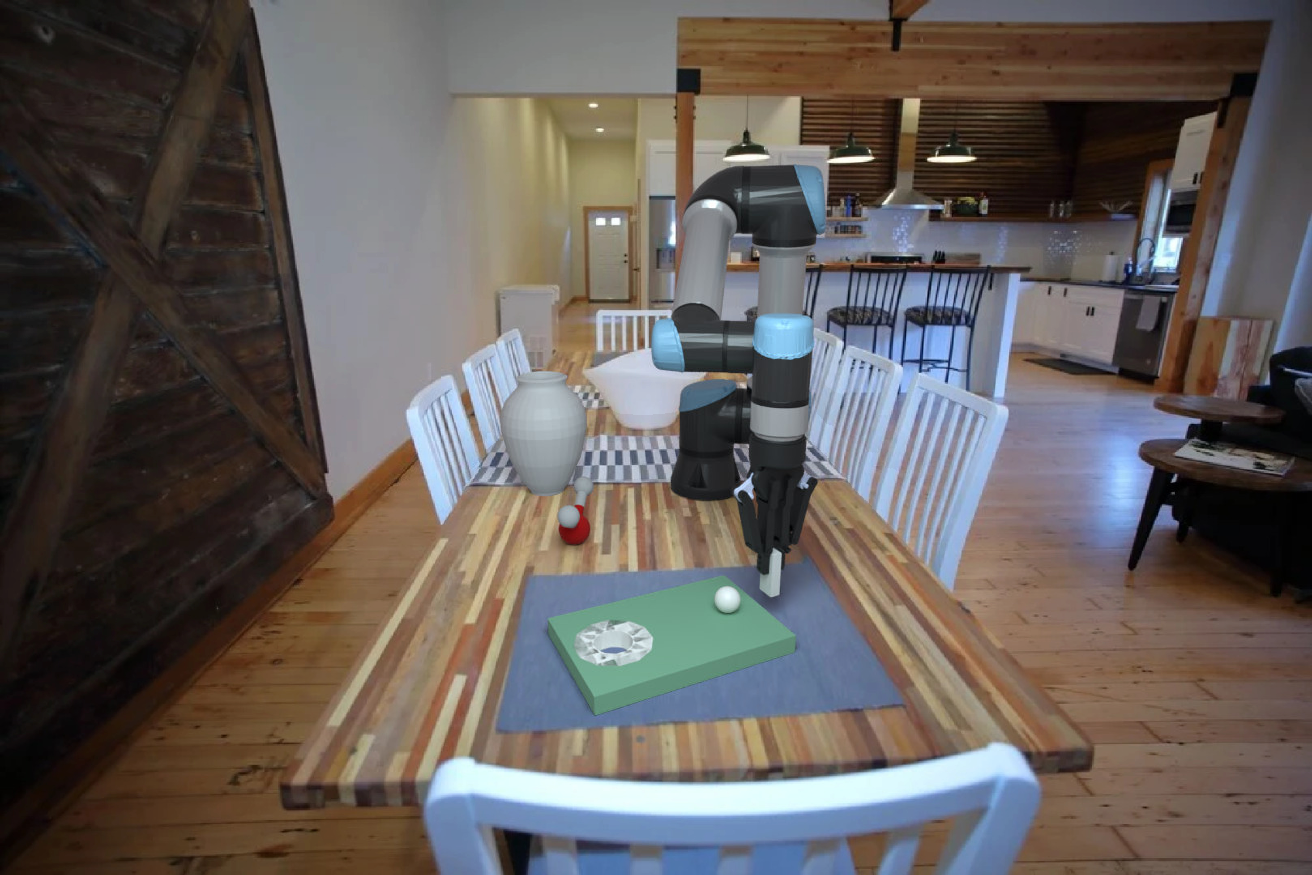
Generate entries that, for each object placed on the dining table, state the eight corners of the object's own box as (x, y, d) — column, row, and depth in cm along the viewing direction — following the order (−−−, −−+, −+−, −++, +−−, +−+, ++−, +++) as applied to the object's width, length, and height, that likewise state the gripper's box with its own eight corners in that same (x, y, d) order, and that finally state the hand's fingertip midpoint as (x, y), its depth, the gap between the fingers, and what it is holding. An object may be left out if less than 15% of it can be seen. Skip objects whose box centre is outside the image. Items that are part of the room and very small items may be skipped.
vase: (489, 488, 145) (480, 375, 137) (558, 470, 156) (553, 364, 149) (534, 513, 132) (527, 389, 125) (605, 490, 143) (602, 376, 136)
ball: (731, 601, 95) (732, 579, 94) (745, 614, 92) (746, 591, 91) (709, 607, 94) (709, 584, 93) (722, 620, 91) (723, 596, 90)
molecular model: (581, 566, 111) (579, 510, 108) (548, 565, 111) (545, 509, 108) (598, 523, 127) (597, 473, 125) (569, 522, 128) (567, 472, 125)
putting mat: (723, 589, 104) (724, 574, 103) (794, 652, 88) (796, 635, 87) (548, 634, 92) (547, 618, 91) (594, 715, 76) (594, 697, 76)
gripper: (800, 420, 95) (790, 570, 101) (721, 431, 89) (716, 589, 96) (835, 434, 88) (822, 593, 95) (752, 447, 83) (745, 615, 90)
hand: (769, 591), depth 95 cm, fingers closed
